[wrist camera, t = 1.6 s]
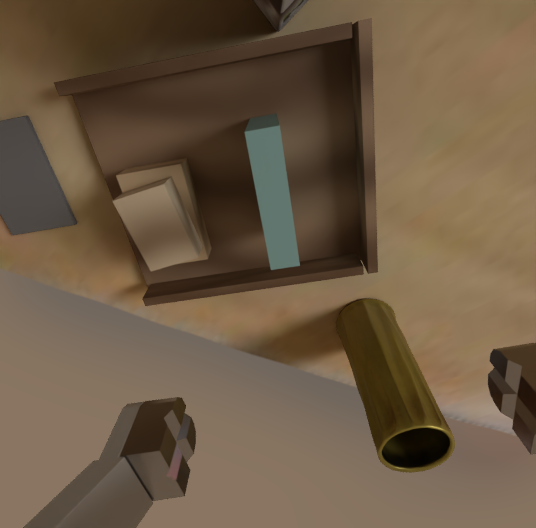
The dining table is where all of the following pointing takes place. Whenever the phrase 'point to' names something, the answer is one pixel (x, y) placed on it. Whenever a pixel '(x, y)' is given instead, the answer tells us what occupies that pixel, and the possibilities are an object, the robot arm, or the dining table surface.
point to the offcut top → (159, 224)
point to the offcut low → (184, 185)
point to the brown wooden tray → (237, 157)
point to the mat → (28, 182)
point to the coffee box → (279, 10)
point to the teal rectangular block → (272, 190)
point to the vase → (393, 389)
